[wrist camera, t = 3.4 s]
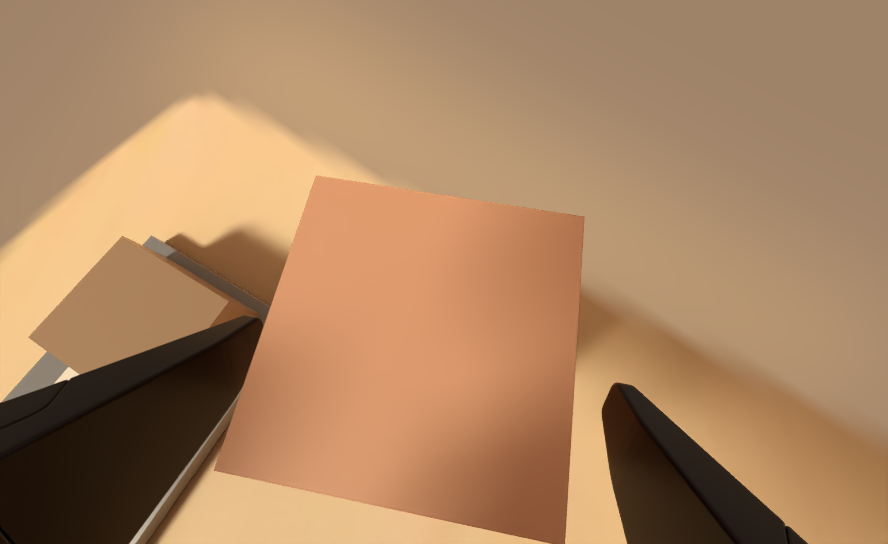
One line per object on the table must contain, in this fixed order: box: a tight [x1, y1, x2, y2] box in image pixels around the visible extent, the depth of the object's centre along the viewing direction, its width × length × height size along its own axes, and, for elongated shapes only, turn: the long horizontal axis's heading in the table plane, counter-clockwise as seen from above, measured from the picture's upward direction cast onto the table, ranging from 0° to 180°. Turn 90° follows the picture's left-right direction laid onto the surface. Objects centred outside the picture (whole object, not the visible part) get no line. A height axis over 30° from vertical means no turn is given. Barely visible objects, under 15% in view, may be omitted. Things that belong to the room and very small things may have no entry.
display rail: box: [2, 236, 271, 544], centre depth 14 cm, size 20×9×3 cm, turn 151°
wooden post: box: [214, 176, 584, 544], centre depth 11 cm, size 4×4×12 cm
